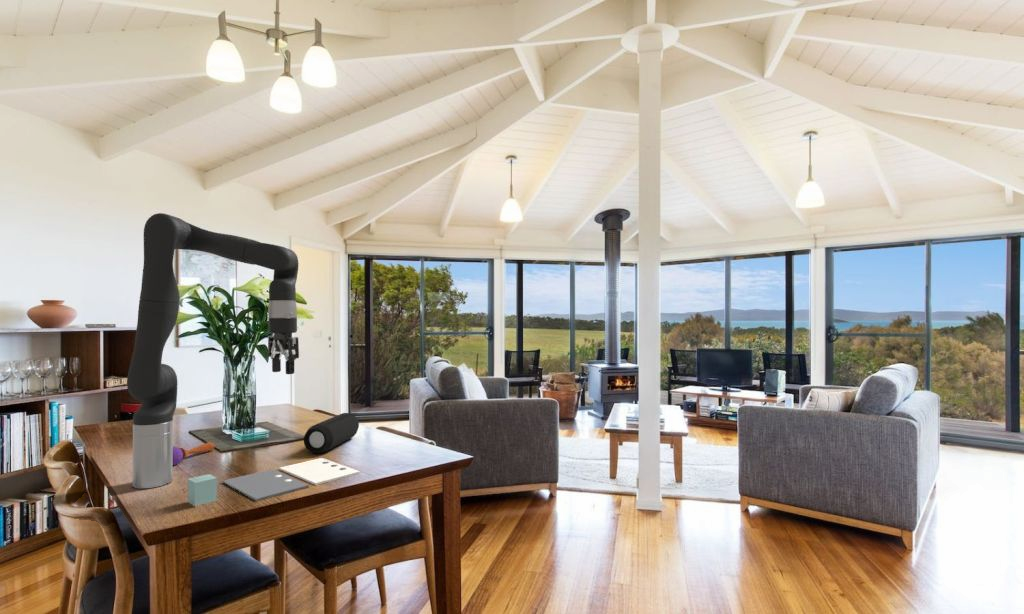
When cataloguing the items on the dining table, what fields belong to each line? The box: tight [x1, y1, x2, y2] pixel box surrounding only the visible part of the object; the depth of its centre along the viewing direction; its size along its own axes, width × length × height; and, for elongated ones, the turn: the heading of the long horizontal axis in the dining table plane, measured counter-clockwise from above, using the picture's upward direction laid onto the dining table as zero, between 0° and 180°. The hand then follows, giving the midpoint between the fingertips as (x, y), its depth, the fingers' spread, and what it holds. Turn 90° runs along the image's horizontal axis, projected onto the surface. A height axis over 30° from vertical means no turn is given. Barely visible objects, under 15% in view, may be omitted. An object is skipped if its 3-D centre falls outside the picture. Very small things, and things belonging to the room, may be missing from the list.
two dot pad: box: [221, 468, 310, 502], centre depth 143 cm, size 22×14×1 cm, turn 49°
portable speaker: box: [303, 412, 360, 454], centre depth 186 cm, size 26×10×10 cm, turn 172°
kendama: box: [173, 441, 215, 466], centre depth 169 cm, size 6×6×20 cm
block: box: [187, 473, 218, 507], centre depth 130 cm, size 5×5×6 cm
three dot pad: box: [278, 457, 361, 486], centre depth 155 cm, size 22×14×1 cm, turn 49°
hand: (283, 372), depth 148 cm, fingers open, 8 cm apart
